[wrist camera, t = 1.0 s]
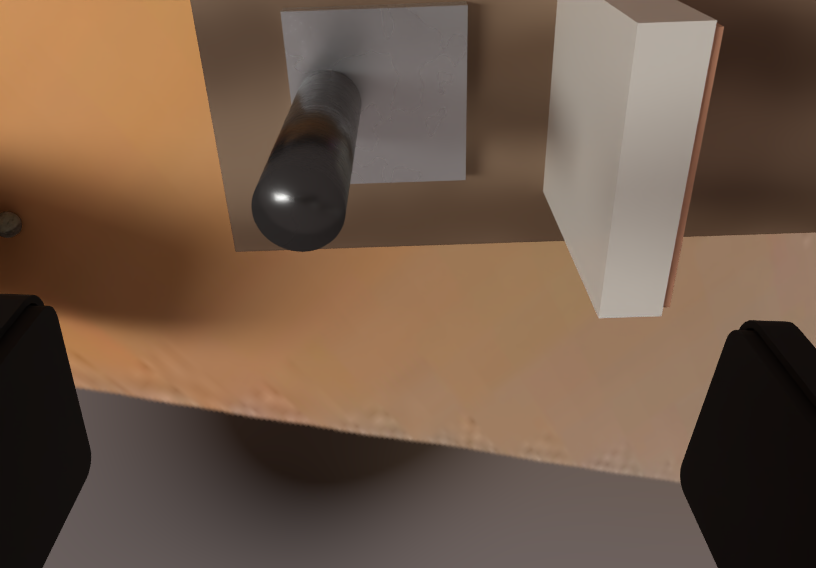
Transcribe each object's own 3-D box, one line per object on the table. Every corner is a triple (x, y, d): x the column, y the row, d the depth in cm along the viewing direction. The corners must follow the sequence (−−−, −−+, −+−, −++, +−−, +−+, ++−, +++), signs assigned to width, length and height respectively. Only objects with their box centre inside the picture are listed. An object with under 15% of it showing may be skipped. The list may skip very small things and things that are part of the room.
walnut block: (736, 141, 42) (844, 231, 32) (274, 157, 43) (235, 251, 32) (795, -127, 35) (959, -121, 25) (238, -107, 35) (173, -93, 25)
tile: (595, 189, 31) (670, 315, 22) (542, 191, 31) (598, 318, 22) (621, -33, 26) (728, 19, 18) (559, -31, 26) (637, 23, 18)
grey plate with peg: (463, 172, 30) (492, 309, 21) (303, 178, 30) (261, 316, 21) (465, 1, 27) (502, 75, 18) (283, 8, 27) (223, 85, 18)
